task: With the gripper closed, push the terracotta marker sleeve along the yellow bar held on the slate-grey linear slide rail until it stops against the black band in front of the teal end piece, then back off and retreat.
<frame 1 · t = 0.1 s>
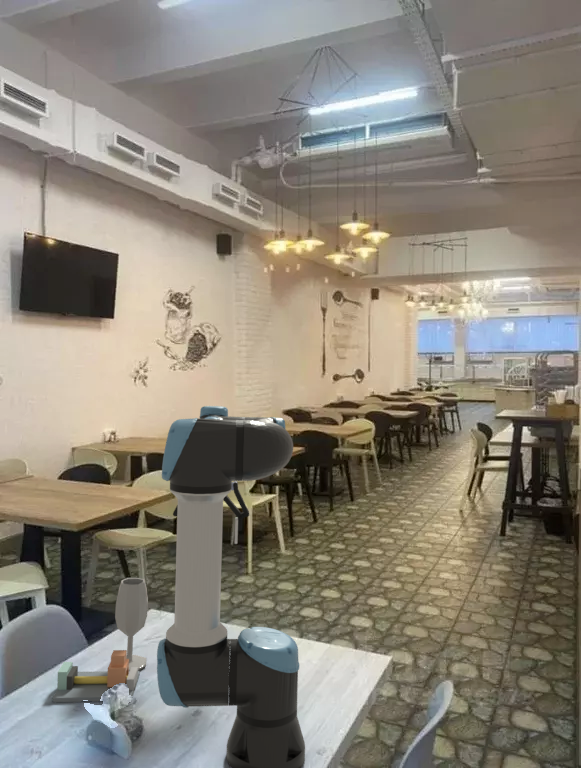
hand: (210, 542, 167), 28 cm above the table, fingers open, 13 cm apart
sleeve: (118, 667, 144), point 5 cm above the table, slide at 0.0 cm
wineglass: (129, 666, 155), on the table
linear slide rail: (98, 688, 144), on the table
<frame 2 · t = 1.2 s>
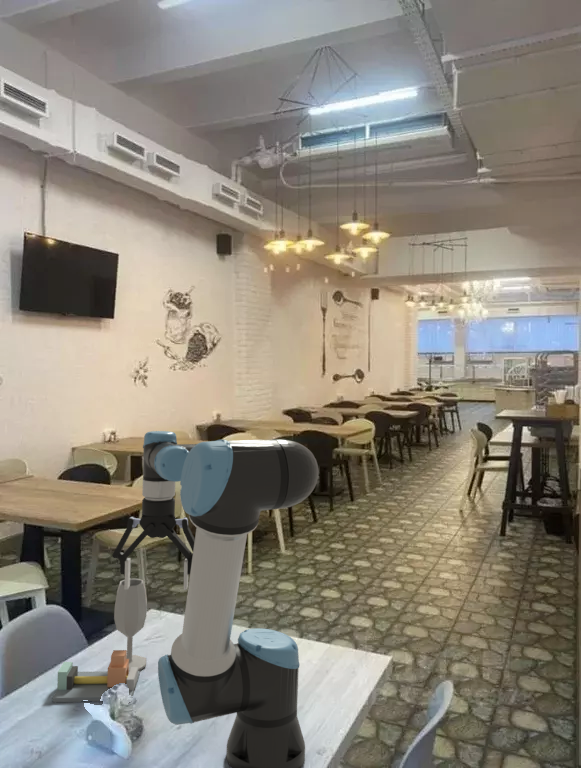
hand: (156, 587, 146), 23 cm above the table, fingers open, 13 cm apart
nothing on the table moved.
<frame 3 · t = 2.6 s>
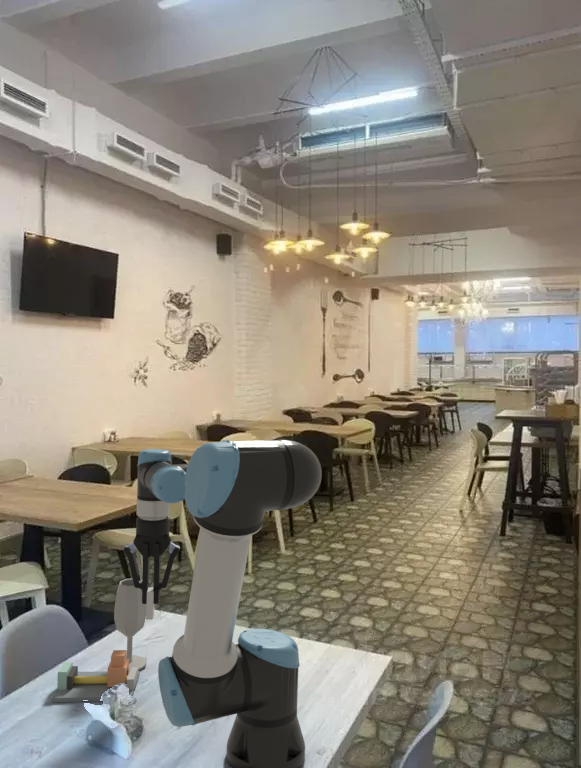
hand: (150, 617, 145), 16 cm above the table, fingers closed
nothing on the table moved.
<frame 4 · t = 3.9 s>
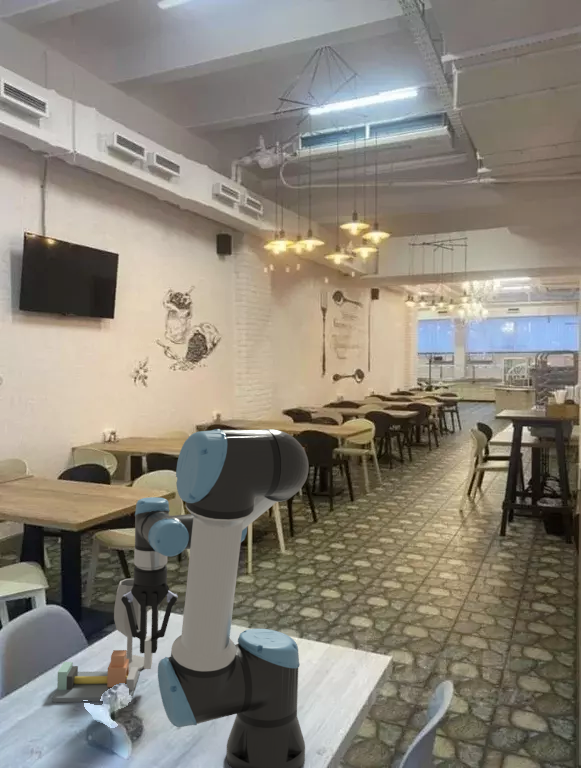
hand: (148, 666, 145), 5 cm above the table, fingers closed
nothing on the table moved.
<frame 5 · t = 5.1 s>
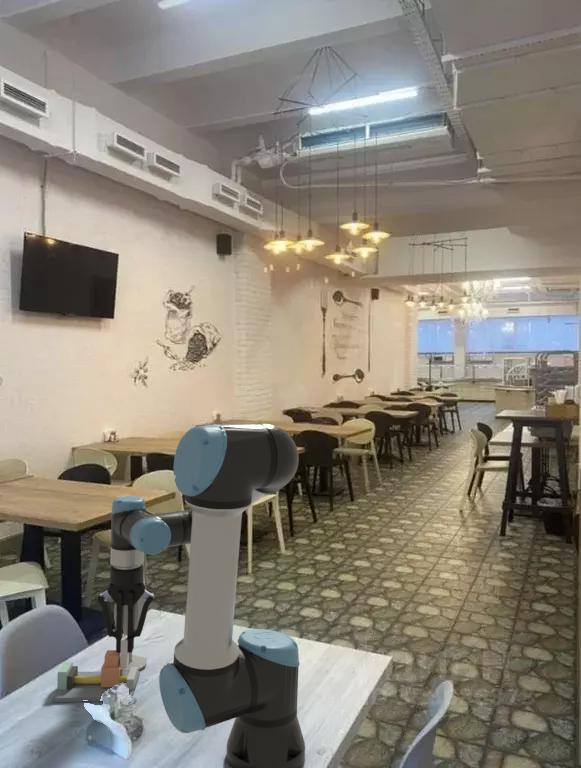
hand: (124, 665, 144), 5 cm above the table, fingers closed
sleeve: (112, 667, 144), point 5 cm above the table, slide at 1.4 cm, touching gripper
everything else where it was.
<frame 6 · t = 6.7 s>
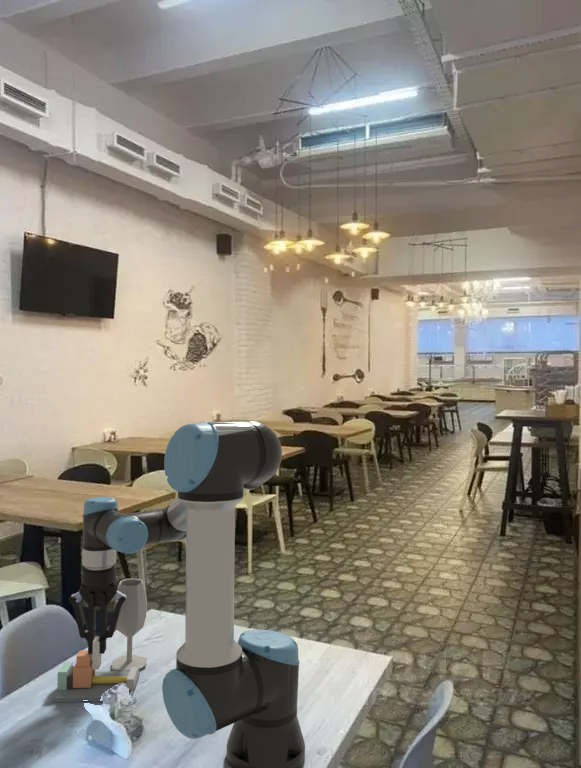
hand: (96, 666, 144), 5 cm above the table, fingers closed
sleeve: (84, 668, 143), point 5 cm above the table, slide at 7.7 cm, touching gripper
everything else where it was.
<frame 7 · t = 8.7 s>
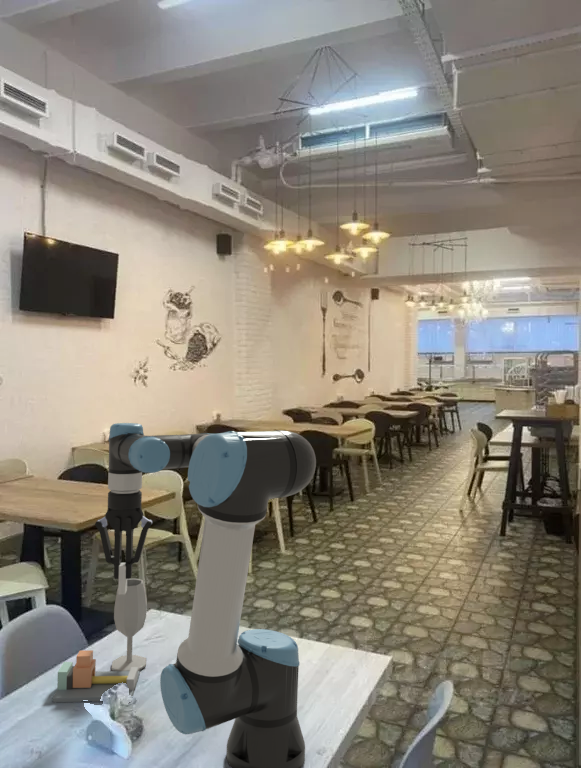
hand: (122, 592, 143), 22 cm above the table, fingers closed
sleeve: (84, 668, 143), point 5 cm above the table, slide at 7.7 cm
everything else where it was.
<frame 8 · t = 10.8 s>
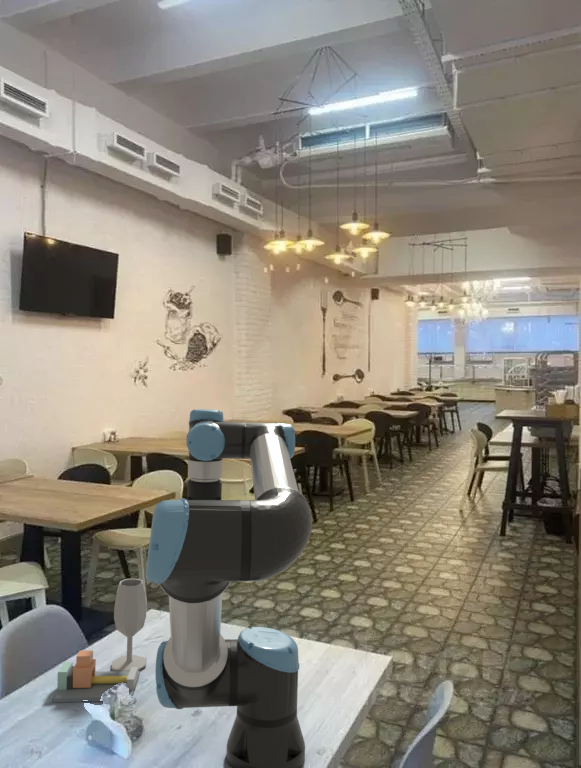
hand: (202, 584, 138), 26 cm above the table, fingers closed
nothing on the table moved.
at the end: sleeve slide at 7.7 cm; sleeve 0.5 cm from the target spot, resting on linear slide rail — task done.
